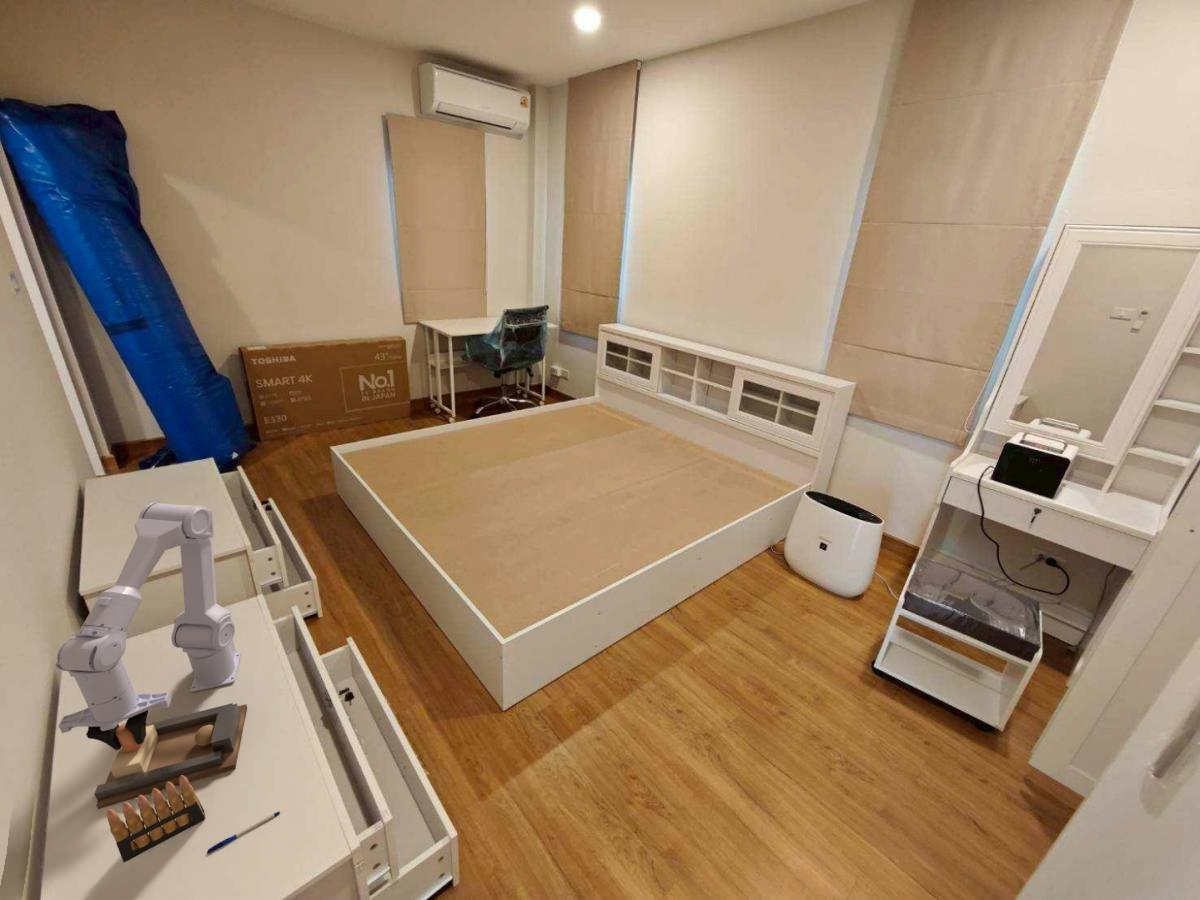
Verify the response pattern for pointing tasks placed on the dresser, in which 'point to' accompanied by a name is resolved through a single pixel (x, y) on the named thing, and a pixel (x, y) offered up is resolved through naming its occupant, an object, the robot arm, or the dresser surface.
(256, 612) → the dresser surface
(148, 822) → the ammunition clip
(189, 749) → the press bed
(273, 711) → the dresser surface
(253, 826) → the ballpoint pen
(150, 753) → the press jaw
